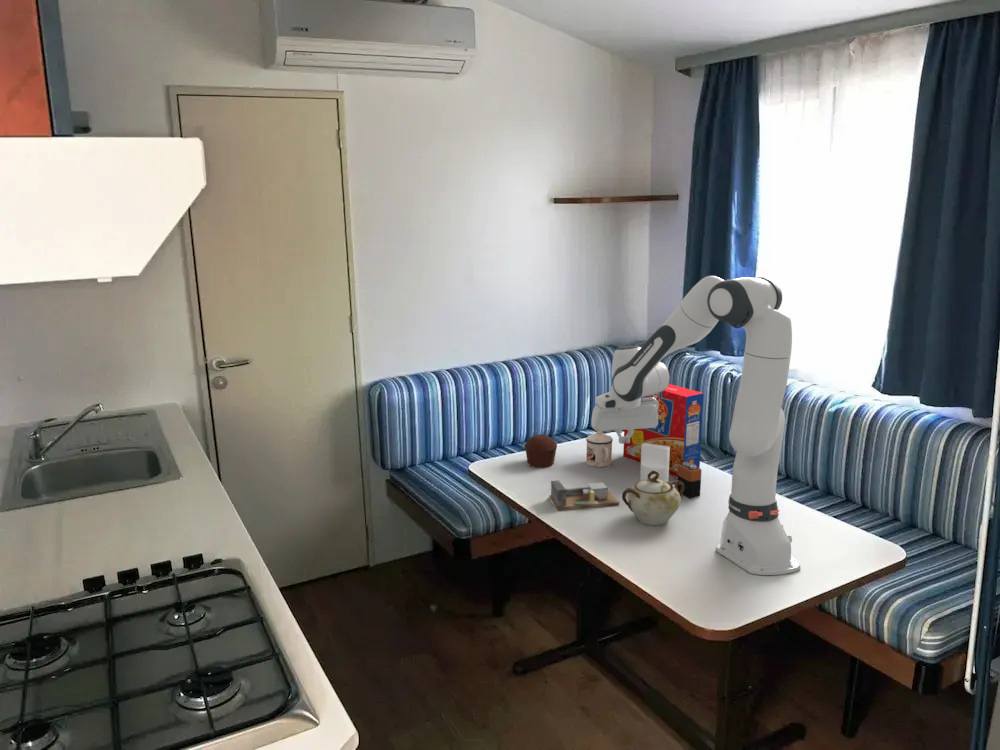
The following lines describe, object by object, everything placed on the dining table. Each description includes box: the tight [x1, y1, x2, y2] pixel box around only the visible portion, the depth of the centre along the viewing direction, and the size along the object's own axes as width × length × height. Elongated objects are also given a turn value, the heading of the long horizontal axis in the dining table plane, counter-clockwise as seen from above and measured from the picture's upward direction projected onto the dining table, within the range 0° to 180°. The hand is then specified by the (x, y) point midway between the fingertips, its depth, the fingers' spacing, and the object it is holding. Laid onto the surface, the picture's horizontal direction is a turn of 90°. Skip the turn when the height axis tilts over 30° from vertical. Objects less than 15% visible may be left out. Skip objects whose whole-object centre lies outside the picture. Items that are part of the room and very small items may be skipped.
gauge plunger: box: [582, 482, 609, 500], centre depth 245 cm, size 7×7×4 cm
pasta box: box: [623, 383, 705, 478], centre depth 274 cm, size 28×8×28 cm, turn 35°
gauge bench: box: [548, 480, 620, 511], centre depth 246 cm, size 19×10×6 cm, turn 101°
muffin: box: [524, 434, 558, 469], centre depth 279 cm, size 12×11×10 cm
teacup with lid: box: [585, 431, 614, 468], centre depth 277 cm, size 12×9×12 cm
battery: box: [676, 462, 702, 499], centre depth 250 cm, size 4×7×10 cm, turn 25°
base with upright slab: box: [639, 443, 670, 483], centre depth 261 cm, size 9×9×12 cm
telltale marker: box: [590, 491, 595, 502], centre depth 242 cm, size 1×2×3 cm, turn 11°
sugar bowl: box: [621, 471, 685, 526], centre depth 231 cm, size 20×15×15 cm
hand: (624, 442), depth 245 cm, fingers closed
